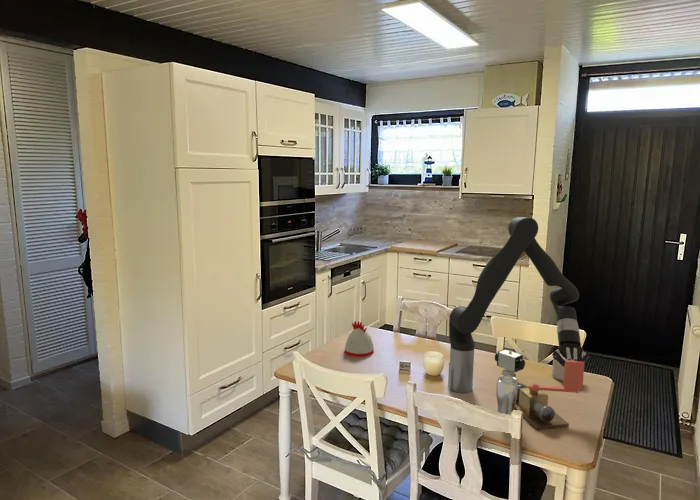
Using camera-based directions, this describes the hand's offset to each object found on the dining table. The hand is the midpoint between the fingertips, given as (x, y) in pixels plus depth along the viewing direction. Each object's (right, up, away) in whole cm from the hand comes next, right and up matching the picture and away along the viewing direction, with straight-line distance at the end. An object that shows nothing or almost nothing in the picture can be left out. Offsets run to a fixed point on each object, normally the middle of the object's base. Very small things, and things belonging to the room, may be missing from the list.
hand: (573, 377), depth 171 cm
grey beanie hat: (-75, -4, +61) cm, 97 cm away
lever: (-6, -5, +1) cm, 8 cm away
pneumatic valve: (-12, -9, +33) cm, 36 cm away
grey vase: (-25, -14, -2) cm, 29 cm away
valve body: (-13, -14, +3) cm, 19 cm away
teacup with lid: (+12, -9, +35) cm, 38 cm away
